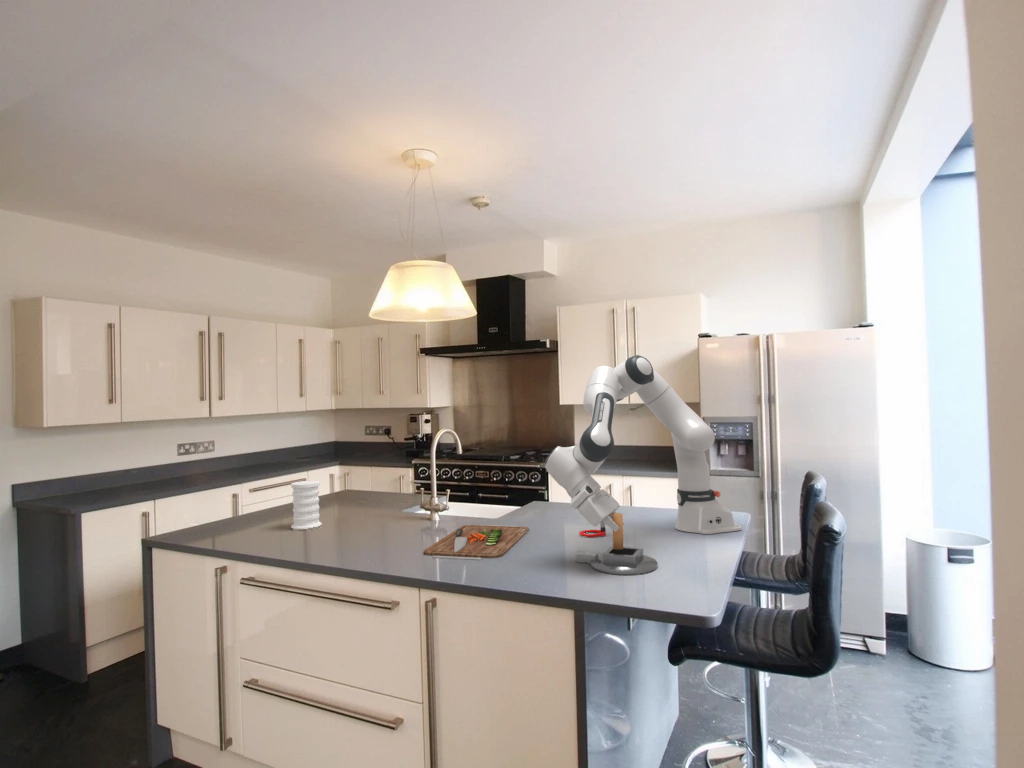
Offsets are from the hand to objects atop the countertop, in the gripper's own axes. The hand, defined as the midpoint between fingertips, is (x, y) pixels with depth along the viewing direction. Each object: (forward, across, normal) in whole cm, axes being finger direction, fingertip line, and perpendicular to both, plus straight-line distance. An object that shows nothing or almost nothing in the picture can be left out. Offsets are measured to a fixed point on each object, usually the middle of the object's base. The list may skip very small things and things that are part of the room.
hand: (619, 528), depth 168 cm
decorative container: (-84, -10, -101) cm, 132 cm away
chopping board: (-29, -12, -46) cm, 56 cm away
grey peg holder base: (+7, 0, -8) cm, 11 cm away
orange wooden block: (+4, 0, -5) cm, 6 cm away
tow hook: (-5, -32, -21) cm, 39 cm away
